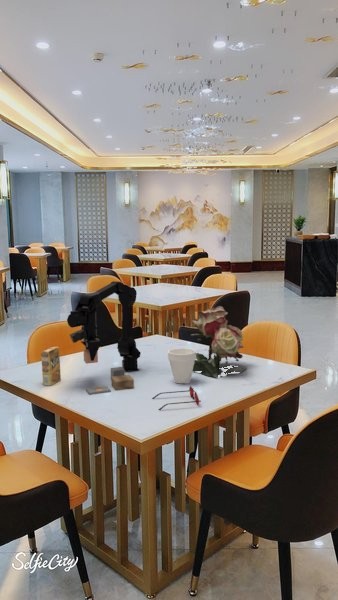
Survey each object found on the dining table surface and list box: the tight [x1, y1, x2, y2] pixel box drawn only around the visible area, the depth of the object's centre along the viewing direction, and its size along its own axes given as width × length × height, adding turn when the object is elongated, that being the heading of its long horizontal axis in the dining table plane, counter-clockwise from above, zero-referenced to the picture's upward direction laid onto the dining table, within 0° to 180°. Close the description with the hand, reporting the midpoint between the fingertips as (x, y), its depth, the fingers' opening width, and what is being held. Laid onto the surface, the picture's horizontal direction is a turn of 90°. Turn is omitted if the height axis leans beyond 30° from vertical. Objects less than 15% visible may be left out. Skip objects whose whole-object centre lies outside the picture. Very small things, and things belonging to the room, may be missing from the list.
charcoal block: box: [110, 366, 126, 378], centre depth 229 cm, size 5×5×5 cm
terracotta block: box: [83, 348, 99, 365], centre depth 222 cm, size 5×5×5 cm
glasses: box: [151, 385, 202, 411], centre depth 197 cm, size 14×16×5 cm
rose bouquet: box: [190, 305, 247, 379], centre depth 242 cm, size 26×29×30 cm
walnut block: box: [110, 374, 135, 391], centre depth 219 cm, size 8×8×4 cm
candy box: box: [40, 346, 62, 386], centre depth 225 cm, size 9×4×15 cm, turn 163°
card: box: [85, 385, 112, 396], centre depth 213 cm, size 9×6×1 cm, turn 112°
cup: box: [167, 347, 197, 384], centre depth 224 cm, size 12×12×14 cm
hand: (90, 359), depth 223 cm, fingers closed on terracotta block, 5 cm apart
